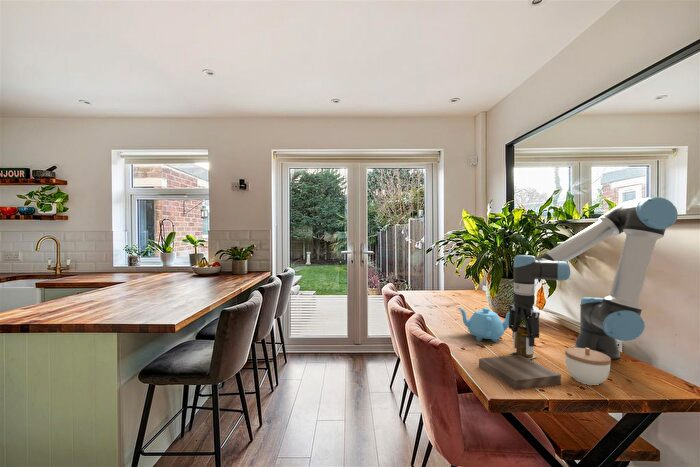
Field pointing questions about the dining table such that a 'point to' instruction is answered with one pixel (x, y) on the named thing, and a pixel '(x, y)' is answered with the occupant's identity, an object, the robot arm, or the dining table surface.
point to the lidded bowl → (587, 365)
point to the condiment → (522, 342)
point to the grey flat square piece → (519, 372)
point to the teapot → (485, 324)
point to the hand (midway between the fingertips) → (522, 350)
